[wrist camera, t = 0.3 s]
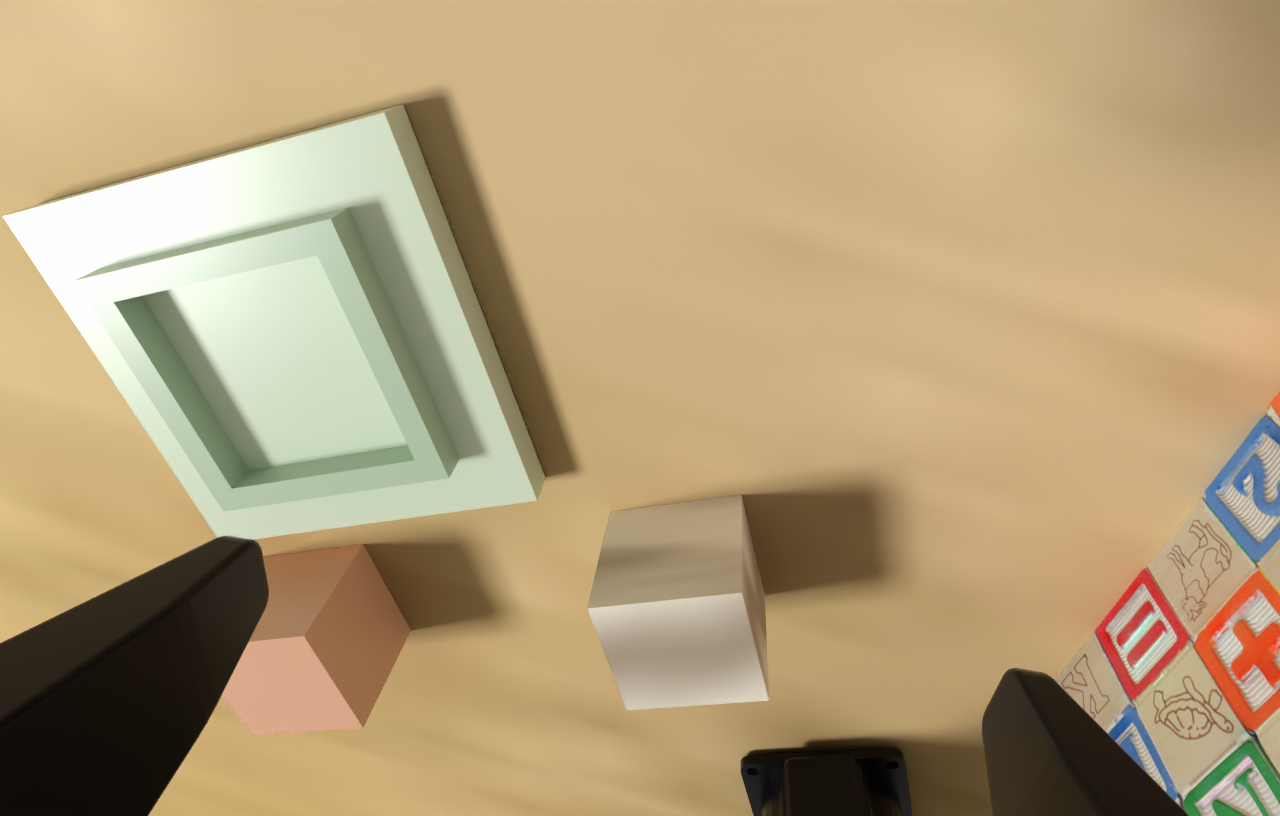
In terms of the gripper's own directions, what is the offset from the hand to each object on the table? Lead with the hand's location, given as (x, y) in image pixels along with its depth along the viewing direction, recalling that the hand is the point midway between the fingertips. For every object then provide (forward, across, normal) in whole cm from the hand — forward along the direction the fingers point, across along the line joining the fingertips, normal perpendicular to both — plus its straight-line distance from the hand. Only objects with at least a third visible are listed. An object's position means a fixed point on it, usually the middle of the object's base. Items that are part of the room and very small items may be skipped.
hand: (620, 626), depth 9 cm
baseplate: (+14, +12, +5) cm, 18 cm away
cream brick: (+14, -1, +10) cm, 17 cm away
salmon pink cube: (+14, +12, +15) cm, 24 cm away
